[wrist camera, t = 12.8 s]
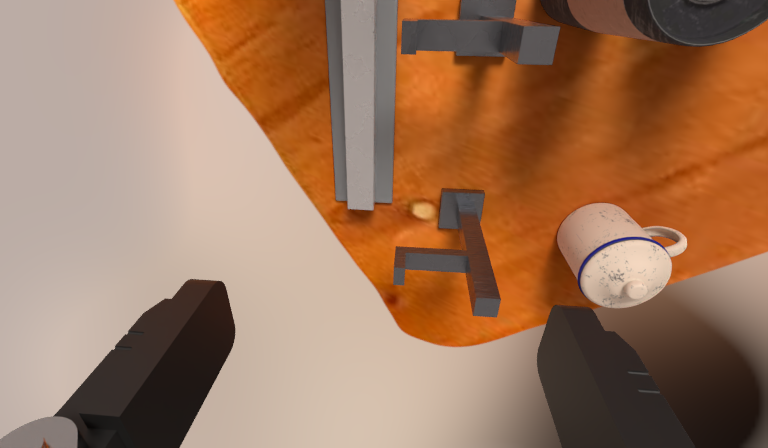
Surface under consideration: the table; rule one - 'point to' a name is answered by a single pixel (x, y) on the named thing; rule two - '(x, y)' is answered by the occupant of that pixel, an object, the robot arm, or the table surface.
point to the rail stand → (459, 206)
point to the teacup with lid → (616, 255)
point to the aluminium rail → (360, 99)
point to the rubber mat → (385, 96)
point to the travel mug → (663, 18)
